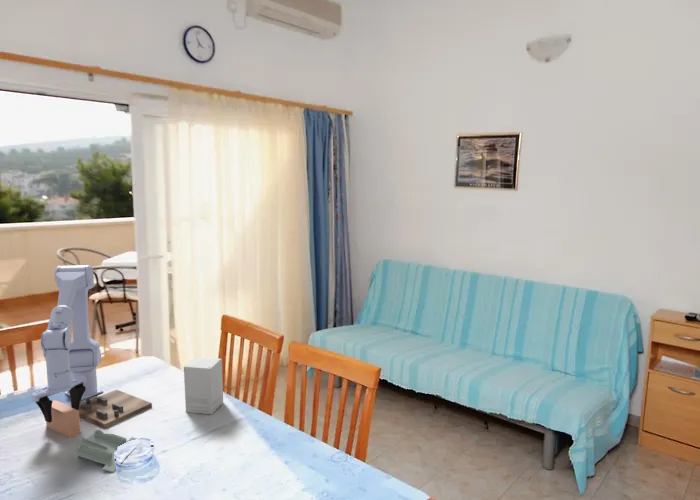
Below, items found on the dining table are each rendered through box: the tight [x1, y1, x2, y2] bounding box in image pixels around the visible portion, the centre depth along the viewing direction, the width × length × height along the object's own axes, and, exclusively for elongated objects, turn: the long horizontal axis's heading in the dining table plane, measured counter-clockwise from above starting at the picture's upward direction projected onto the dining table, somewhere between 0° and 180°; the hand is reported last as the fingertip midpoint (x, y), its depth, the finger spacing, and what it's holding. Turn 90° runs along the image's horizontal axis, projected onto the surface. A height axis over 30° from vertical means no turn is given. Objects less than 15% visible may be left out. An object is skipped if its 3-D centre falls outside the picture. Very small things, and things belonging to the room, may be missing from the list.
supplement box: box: [183, 356, 224, 415], centre depth 161 cm, size 9×9×15 cm
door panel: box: [45, 399, 82, 439], centre depth 146 cm, size 12×3×7 cm, turn 58°
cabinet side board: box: [79, 389, 153, 429], centre depth 159 cm, size 18×16×3 cm
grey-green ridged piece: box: [71, 429, 137, 474], centre depth 134 cm, size 14×6×15 cm
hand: (62, 415), depth 146 cm, fingers open, 7 cm apart
